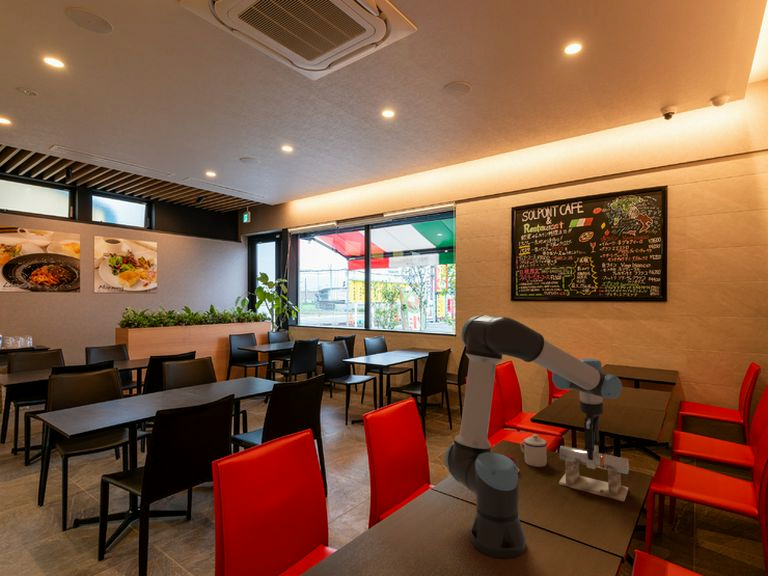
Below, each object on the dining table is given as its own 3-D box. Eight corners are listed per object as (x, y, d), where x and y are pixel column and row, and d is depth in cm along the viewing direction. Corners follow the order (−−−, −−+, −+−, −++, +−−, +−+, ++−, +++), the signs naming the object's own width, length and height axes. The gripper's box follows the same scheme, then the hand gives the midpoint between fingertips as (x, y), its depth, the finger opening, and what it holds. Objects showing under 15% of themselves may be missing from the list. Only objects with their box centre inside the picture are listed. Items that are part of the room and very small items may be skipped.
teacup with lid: (552, 464, 169) (551, 435, 169) (538, 469, 164) (537, 440, 164) (527, 454, 179) (527, 428, 179) (514, 459, 174) (513, 432, 174)
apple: (520, 475, 159) (520, 458, 159) (499, 474, 161) (499, 457, 161) (518, 467, 167) (517, 451, 167) (497, 465, 168) (497, 449, 169)
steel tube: (558, 458, 153) (559, 444, 154) (562, 460, 156) (563, 446, 158) (626, 473, 139) (626, 457, 141) (628, 474, 143) (628, 459, 145)
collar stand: (559, 484, 151) (558, 458, 151) (566, 474, 159) (565, 450, 159) (624, 501, 138) (623, 473, 138) (628, 490, 146) (627, 463, 146)
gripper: (597, 408, 140) (599, 477, 139) (607, 397, 154) (608, 459, 153) (574, 405, 144) (575, 471, 144) (585, 395, 158) (587, 455, 158)
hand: (592, 465), depth 149 cm, fingers closed on steel tube, 5 cm apart
